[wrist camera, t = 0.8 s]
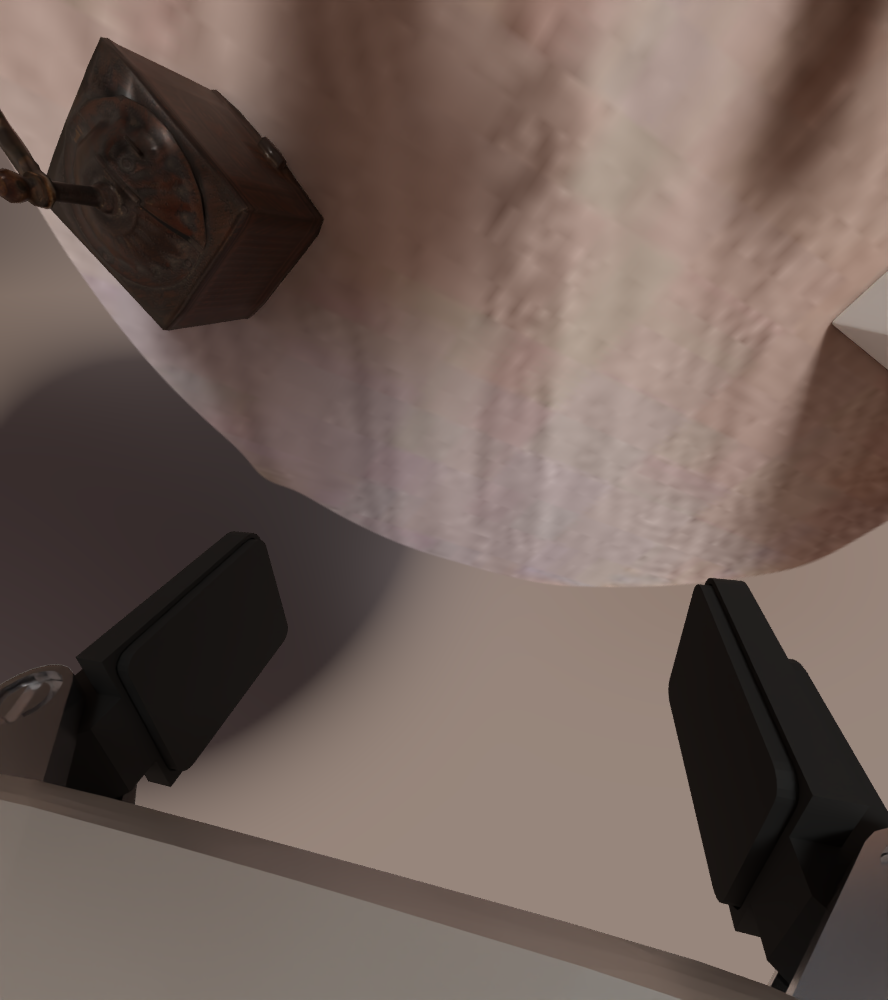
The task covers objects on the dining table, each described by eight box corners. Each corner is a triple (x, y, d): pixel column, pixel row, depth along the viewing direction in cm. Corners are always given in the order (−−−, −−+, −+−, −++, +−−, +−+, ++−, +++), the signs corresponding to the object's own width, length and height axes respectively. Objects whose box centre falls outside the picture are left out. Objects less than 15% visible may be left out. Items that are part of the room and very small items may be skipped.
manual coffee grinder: (334, 216, 32) (119, 170, 17) (251, 321, 37) (27, 362, 22) (168, 5, 29) (-292, -294, 13) (102, 152, 34) (-287, 58, 19)
